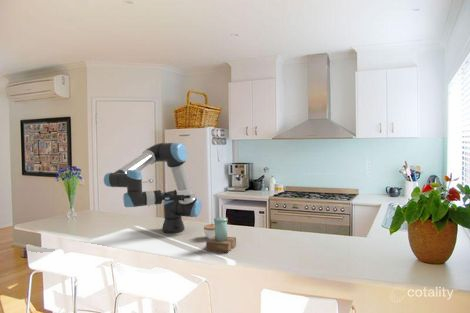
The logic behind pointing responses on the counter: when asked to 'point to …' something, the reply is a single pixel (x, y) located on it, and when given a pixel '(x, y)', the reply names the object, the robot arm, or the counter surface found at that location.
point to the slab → (221, 245)
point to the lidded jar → (209, 231)
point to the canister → (220, 229)
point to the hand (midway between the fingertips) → (191, 194)
